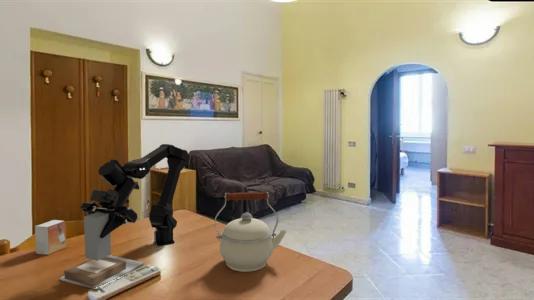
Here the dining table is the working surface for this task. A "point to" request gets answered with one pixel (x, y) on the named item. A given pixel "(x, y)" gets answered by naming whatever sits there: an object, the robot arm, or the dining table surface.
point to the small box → (50, 237)
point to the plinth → (99, 271)
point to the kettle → (247, 238)
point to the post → (96, 236)
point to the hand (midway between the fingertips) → (94, 236)
